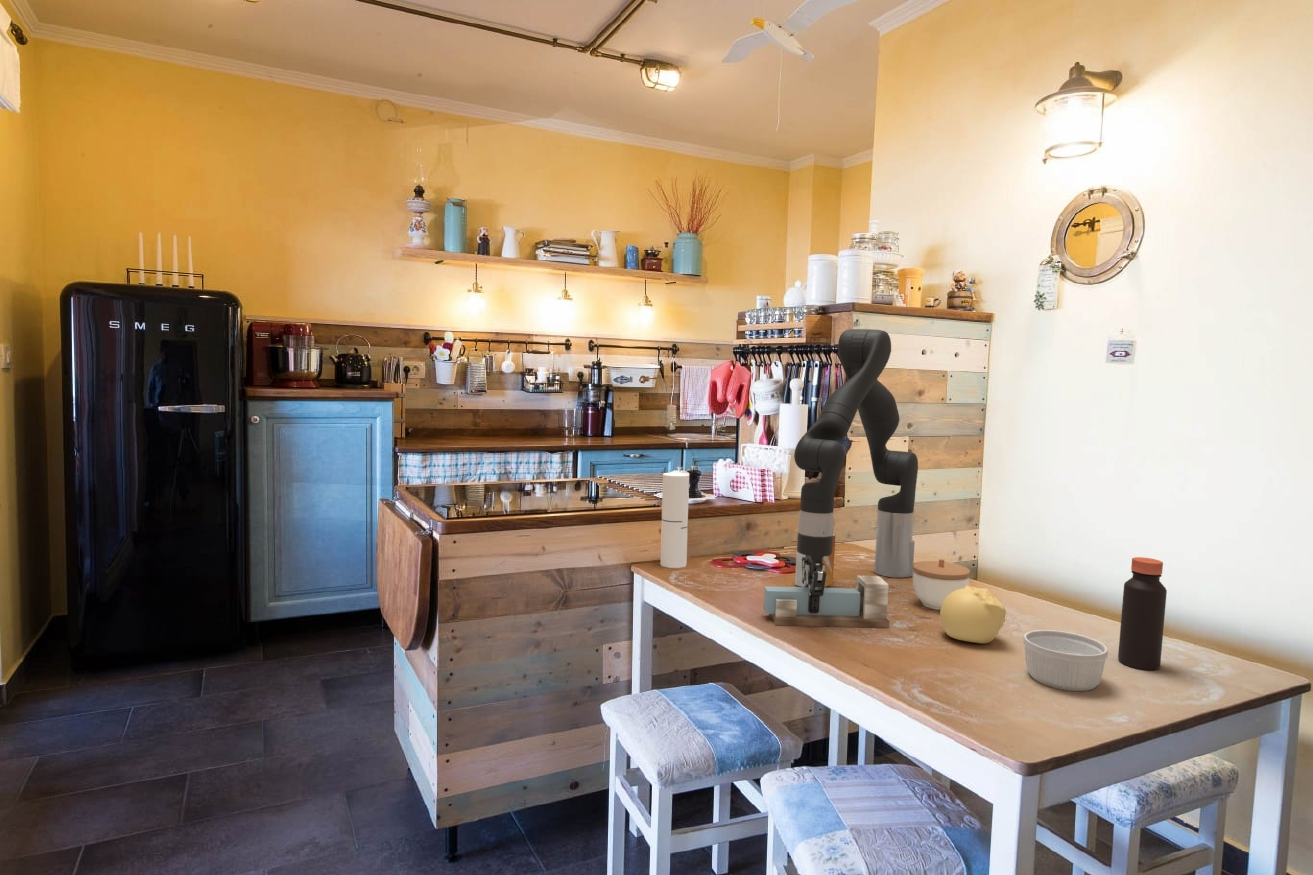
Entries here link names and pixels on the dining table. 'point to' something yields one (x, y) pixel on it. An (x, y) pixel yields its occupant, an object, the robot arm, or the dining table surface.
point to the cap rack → (869, 616)
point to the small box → (826, 560)
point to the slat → (830, 602)
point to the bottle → (1143, 615)
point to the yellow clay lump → (972, 615)
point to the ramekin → (1064, 659)
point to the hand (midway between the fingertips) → (811, 609)
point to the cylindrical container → (674, 520)
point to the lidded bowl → (938, 581)
